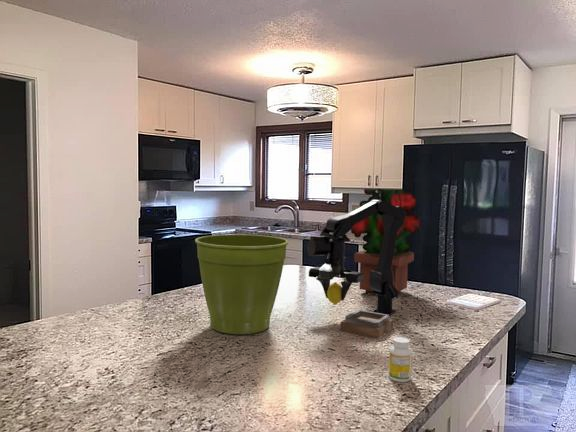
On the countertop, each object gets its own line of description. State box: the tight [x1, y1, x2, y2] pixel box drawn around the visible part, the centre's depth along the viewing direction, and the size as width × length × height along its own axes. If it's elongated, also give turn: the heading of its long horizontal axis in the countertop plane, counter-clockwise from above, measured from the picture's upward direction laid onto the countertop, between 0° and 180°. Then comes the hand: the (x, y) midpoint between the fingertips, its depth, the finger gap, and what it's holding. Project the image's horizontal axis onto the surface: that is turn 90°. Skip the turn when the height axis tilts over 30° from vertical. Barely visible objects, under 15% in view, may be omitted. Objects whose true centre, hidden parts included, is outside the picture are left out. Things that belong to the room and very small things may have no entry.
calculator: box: [446, 293, 500, 311], centre depth 196 cm, size 13×20×2 cm, turn 132°
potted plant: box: [350, 188, 420, 296], centre depth 208 cm, size 22×22×45 cm
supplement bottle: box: [388, 337, 413, 383], centre depth 118 cm, size 5×5×10 cm
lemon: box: [327, 281, 342, 306], centre depth 167 cm, size 6×6×8 cm
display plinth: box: [339, 309, 394, 340], centre depth 157 cm, size 13×13×4 cm
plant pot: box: [194, 234, 289, 335], centre depth 156 cm, size 30×30×29 cm
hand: (334, 299), depth 168 cm, fingers closed on lemon, 5 cm apart
